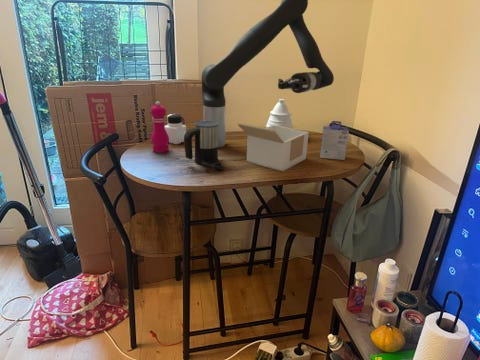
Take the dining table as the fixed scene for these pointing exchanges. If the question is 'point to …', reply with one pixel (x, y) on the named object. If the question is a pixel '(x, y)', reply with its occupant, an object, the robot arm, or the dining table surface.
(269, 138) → the front flap
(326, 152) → the ink cartridge box
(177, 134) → the medicine bottle
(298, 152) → the carton
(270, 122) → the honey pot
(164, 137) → the pepper mill
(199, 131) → the milk frother
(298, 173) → the dining table surface
